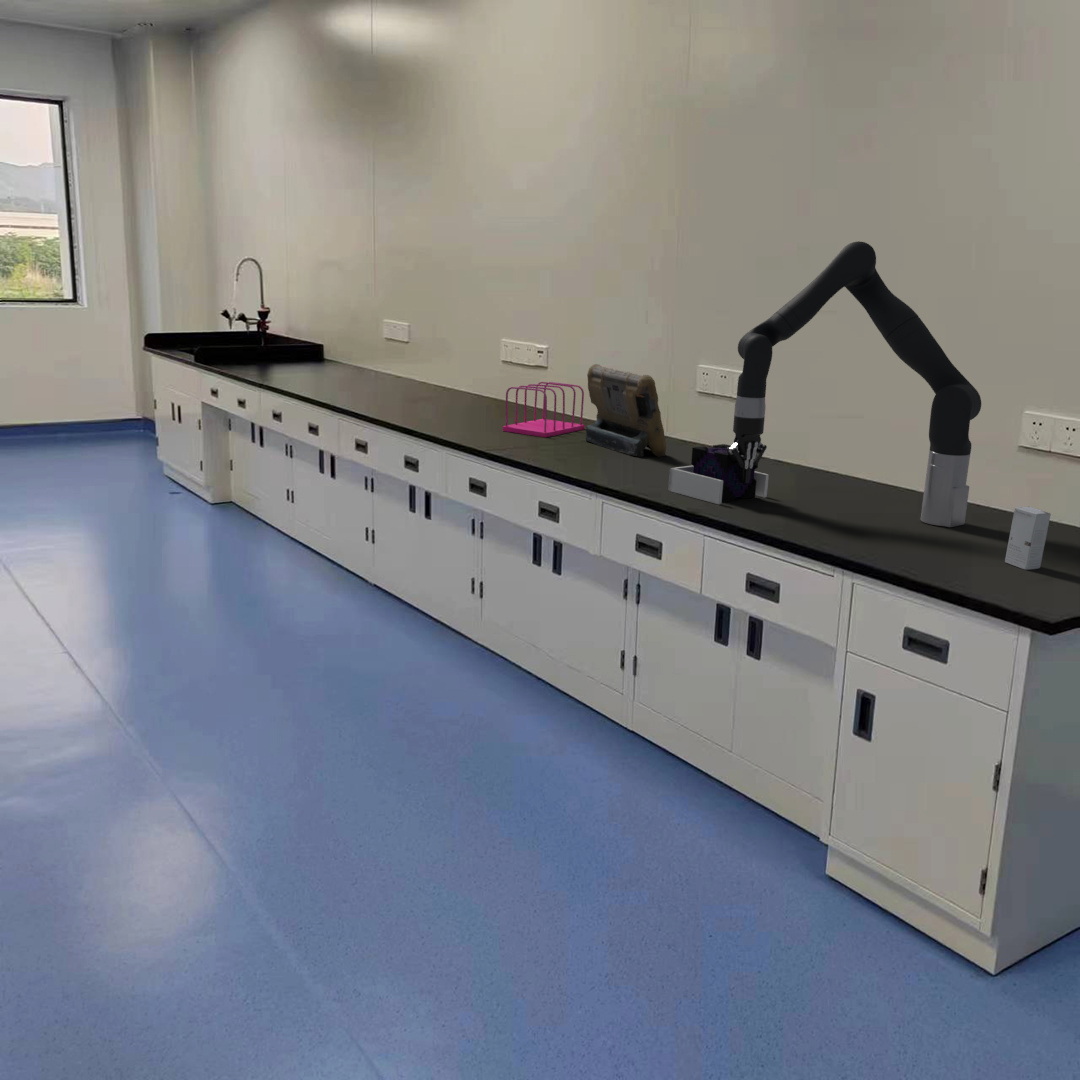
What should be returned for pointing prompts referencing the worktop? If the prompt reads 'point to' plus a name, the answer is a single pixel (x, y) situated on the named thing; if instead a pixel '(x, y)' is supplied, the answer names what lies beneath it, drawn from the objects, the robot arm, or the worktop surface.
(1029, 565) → the skincare box
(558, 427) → the file sorter
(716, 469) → the energy cube
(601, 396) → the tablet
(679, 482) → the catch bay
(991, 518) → the worktop surface
